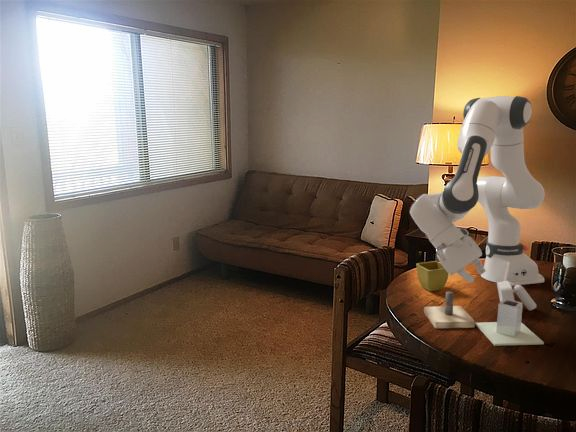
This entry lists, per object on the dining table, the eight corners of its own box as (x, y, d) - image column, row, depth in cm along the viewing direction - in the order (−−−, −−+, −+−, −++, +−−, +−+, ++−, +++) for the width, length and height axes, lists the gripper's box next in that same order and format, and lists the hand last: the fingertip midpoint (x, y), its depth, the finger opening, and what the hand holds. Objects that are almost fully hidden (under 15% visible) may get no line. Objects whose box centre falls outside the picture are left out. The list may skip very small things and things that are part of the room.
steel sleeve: (496, 332, 150) (498, 303, 148) (502, 326, 154) (504, 298, 152) (514, 337, 147) (517, 308, 145) (520, 331, 151) (522, 302, 149)
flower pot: (427, 294, 182) (428, 270, 180) (414, 286, 190) (415, 263, 188) (448, 291, 184) (450, 267, 182) (435, 283, 193) (436, 260, 191)
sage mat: (520, 323, 158) (520, 321, 157) (543, 344, 144) (543, 342, 144) (475, 324, 157) (475, 322, 157) (494, 345, 143) (494, 343, 143)
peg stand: (460, 311, 167) (462, 285, 165) (474, 327, 155) (476, 299, 153) (423, 312, 167) (425, 286, 165) (435, 328, 155) (436, 300, 153)
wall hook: (540, 313, 163) (535, 284, 161) (506, 318, 166) (500, 289, 164) (534, 303, 171) (528, 275, 169) (501, 308, 173) (496, 281, 172)
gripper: (441, 242, 148) (472, 281, 144) (468, 228, 163) (497, 263, 159) (426, 254, 152) (456, 292, 148) (453, 239, 167) (481, 273, 163)
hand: (477, 277), depth 154 cm, fingers open, 8 cm apart
